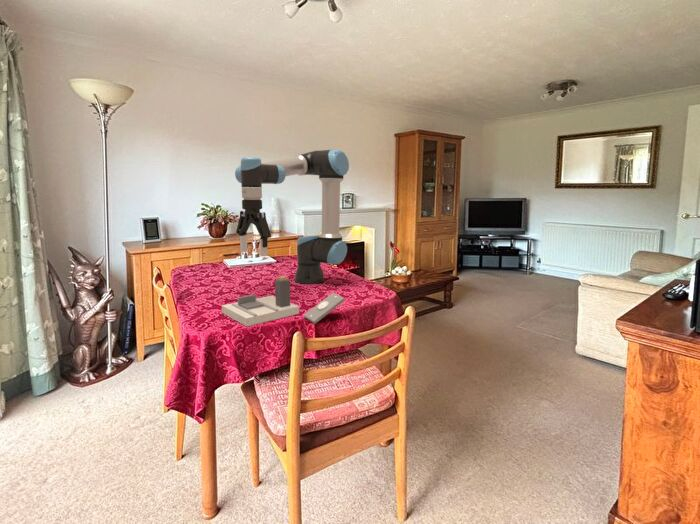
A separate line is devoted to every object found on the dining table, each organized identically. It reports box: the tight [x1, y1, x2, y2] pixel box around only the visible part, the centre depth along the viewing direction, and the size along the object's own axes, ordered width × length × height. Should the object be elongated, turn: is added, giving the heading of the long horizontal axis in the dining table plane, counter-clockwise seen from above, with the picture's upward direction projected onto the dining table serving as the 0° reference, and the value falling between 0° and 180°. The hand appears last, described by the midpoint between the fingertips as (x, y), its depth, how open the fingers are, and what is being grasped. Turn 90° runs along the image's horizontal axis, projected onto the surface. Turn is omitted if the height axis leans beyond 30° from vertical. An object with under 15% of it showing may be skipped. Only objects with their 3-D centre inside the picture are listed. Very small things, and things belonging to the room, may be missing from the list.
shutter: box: [237, 294, 263, 310], centre depth 154 cm, size 7×7×3 cm
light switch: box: [303, 292, 346, 325], centre depth 151 cm, size 8×6×14 cm
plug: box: [274, 275, 291, 307], centre depth 155 cm, size 4×4×11 cm
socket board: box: [221, 295, 300, 327], centre depth 155 cm, size 20×22×4 cm
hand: (253, 253), depth 159 cm, fingers open, 13 cm apart
